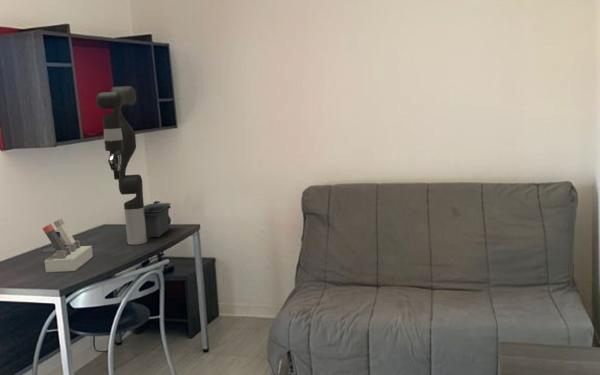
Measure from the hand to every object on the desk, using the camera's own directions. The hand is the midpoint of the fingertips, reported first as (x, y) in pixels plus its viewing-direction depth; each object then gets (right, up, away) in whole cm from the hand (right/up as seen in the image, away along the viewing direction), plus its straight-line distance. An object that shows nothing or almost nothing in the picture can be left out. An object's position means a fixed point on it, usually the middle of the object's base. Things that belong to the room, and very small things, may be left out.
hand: (117, 179), depth 260 cm
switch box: (-20, -37, 0) cm, 42 cm away
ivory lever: (-20, -30, +4) cm, 36 cm away
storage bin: (+4, -28, +50) cm, 57 cm away
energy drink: (-29, -35, +14) cm, 48 cm away
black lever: (-20, -31, -7) cm, 38 cm away
